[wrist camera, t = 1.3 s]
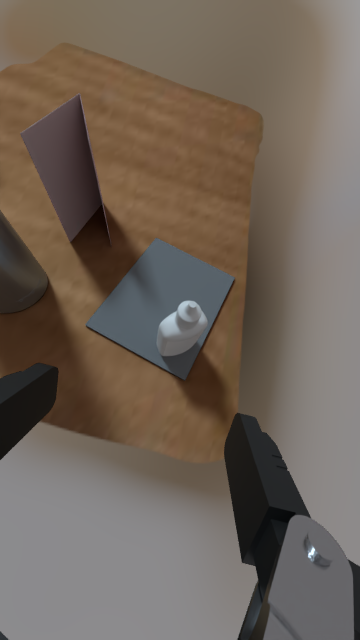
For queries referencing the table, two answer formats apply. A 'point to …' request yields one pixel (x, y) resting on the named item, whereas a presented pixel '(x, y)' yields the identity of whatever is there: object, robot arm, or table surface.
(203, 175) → the table surface
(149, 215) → the table surface
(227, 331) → the table surface
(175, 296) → the mat
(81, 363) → the table surface
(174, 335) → the eye dropper bottle
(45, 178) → the greeting card
